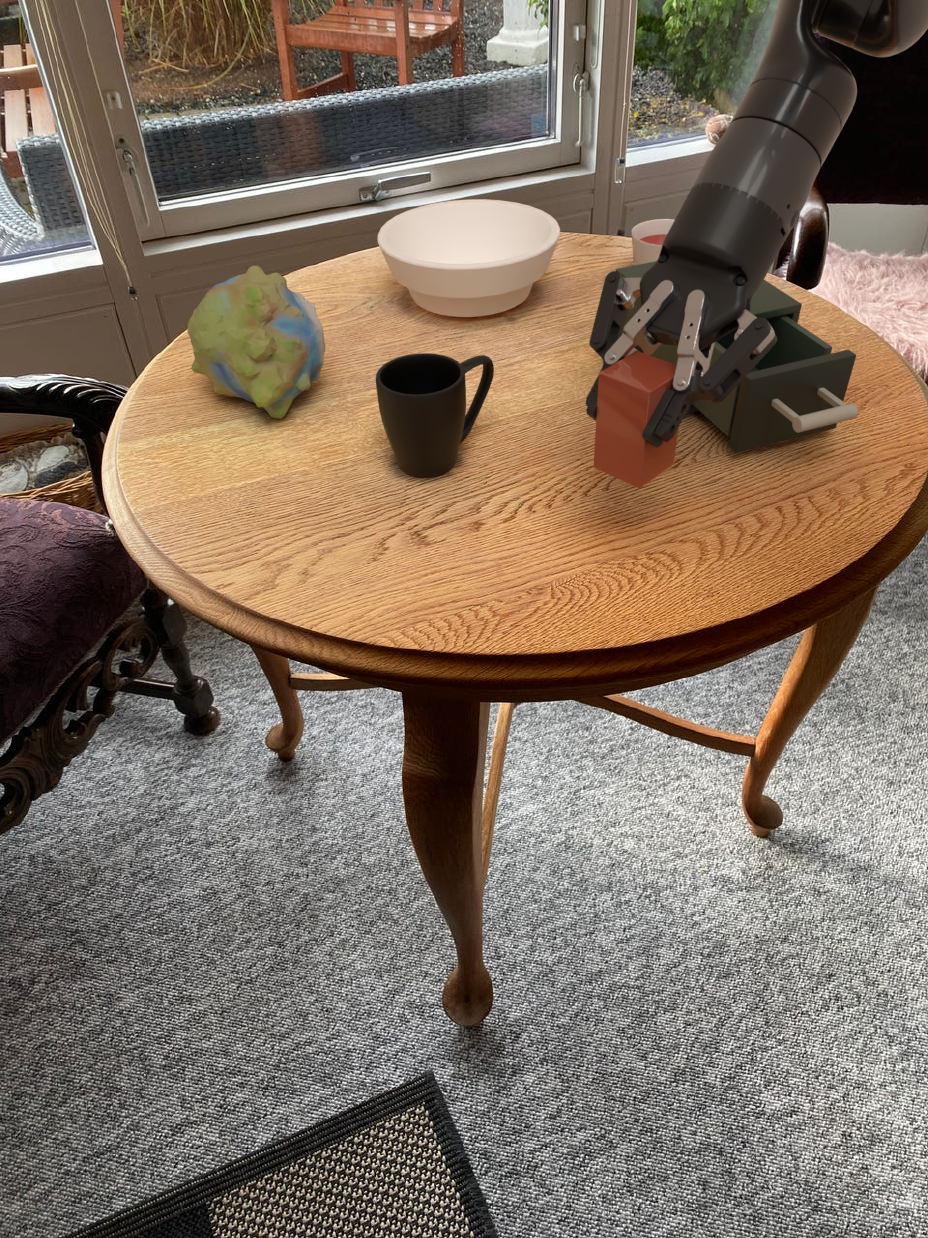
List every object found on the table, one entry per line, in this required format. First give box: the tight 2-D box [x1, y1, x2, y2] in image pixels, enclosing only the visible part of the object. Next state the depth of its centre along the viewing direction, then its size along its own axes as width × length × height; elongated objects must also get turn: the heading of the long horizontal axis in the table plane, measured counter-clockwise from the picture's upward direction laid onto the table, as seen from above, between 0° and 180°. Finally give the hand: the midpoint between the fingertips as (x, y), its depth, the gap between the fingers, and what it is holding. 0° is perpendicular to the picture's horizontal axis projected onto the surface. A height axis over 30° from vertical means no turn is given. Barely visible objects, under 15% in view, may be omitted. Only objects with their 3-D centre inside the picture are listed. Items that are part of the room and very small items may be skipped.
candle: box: [630, 218, 676, 266], centre depth 114 cm, size 9×9×6 cm
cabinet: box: [615, 261, 803, 415], centre depth 96 cm, size 16×13×10 cm
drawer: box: [692, 315, 859, 455], centre depth 87 cm, size 19×11×8 cm, turn 20°
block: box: [592, 351, 680, 490], centre depth 66 cm, size 4×4×8 cm
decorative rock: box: [186, 264, 327, 419], centre depth 93 cm, size 14×16×15 cm
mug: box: [375, 352, 495, 479], centre depth 85 cm, size 8×12×10 cm
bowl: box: [377, 198, 561, 318], centre depth 112 cm, size 22×22×8 cm
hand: (622, 429), depth 65 cm, fingers closed on block, 4 cm apart
